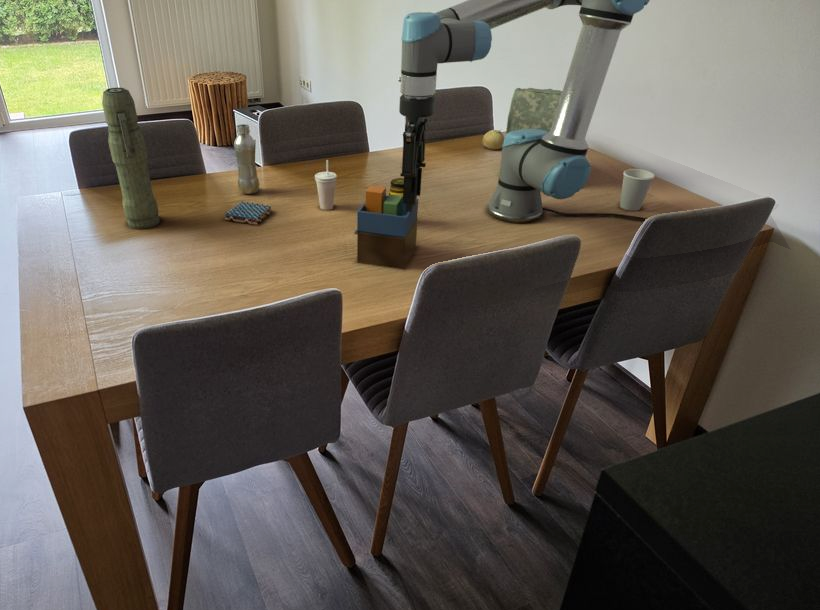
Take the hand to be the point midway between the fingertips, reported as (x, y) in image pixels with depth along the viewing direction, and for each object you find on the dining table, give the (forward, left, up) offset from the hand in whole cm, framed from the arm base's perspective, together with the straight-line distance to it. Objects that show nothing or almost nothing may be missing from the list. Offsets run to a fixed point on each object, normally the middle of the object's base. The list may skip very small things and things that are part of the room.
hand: (411, 198), depth 145 cm
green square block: (+4, 0, -7) cm, 8 cm away
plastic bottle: (+58, -28, -16) cm, 66 cm away
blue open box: (+6, 0, -7) cm, 9 cm away
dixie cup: (-54, -52, -16) cm, 77 cm away
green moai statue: (+76, +2, -16) cm, 77 cm away
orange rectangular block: (+9, 0, -7) cm, 11 cm away
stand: (+6, 0, -15) cm, 16 cm away
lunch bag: (-26, -71, -16) cm, 77 cm away
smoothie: (+31, -24, -16) cm, 42 cm away
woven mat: (+50, -11, -16) cm, 53 cm away
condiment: (+9, -20, -16) cm, 27 cm away
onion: (-8, -96, -16) cm, 98 cm away
